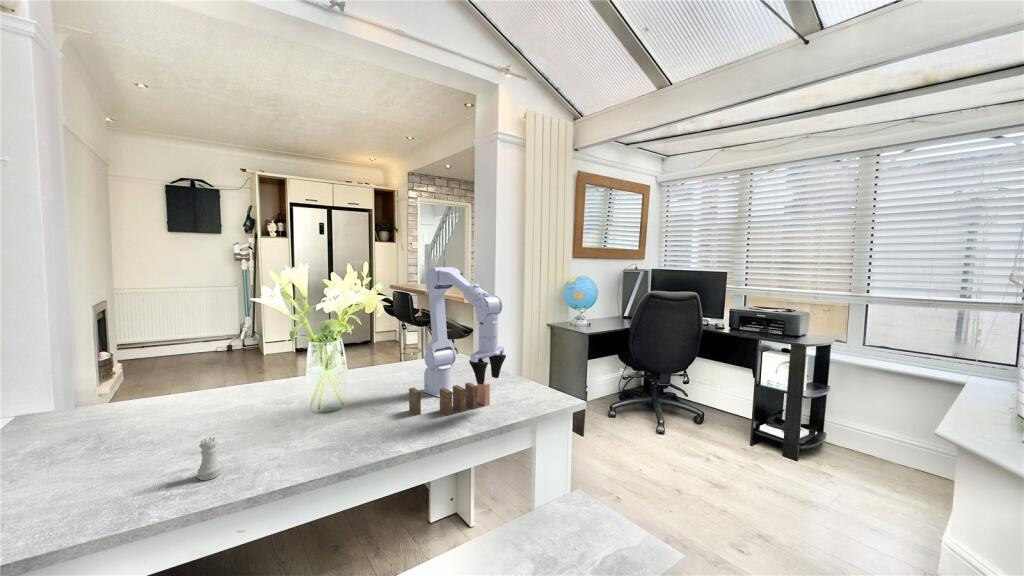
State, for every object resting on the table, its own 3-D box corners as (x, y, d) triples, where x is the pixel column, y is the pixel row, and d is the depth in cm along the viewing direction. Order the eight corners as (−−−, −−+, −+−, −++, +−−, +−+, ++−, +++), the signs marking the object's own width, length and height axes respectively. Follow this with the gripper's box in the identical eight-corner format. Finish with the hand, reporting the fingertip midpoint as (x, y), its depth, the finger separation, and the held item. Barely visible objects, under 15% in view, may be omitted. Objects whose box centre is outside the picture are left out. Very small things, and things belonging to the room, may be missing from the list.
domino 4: (473, 409, 127) (473, 387, 127) (465, 404, 131) (465, 383, 131) (477, 408, 128) (477, 386, 128) (469, 403, 132) (469, 382, 132)
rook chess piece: (205, 470, 90) (204, 435, 89) (227, 469, 90) (225, 434, 89) (191, 481, 85) (189, 444, 85) (214, 480, 86) (212, 444, 85)
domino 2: (447, 415, 122) (447, 392, 122) (439, 410, 126) (439, 388, 126) (452, 414, 123) (452, 391, 123) (444, 409, 127) (444, 387, 127)
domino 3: (460, 412, 125) (460, 390, 124) (452, 407, 129) (452, 385, 128) (465, 411, 126) (465, 389, 125) (457, 406, 130) (457, 384, 129)
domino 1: (415, 415, 122) (415, 392, 121) (409, 410, 126) (409, 388, 125) (420, 414, 123) (420, 391, 122) (414, 409, 127) (413, 387, 126)
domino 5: (485, 406, 130) (485, 384, 130) (477, 401, 134) (477, 380, 134) (489, 405, 131) (489, 383, 131) (481, 400, 135) (481, 380, 135)
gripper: (484, 342, 115) (484, 389, 116) (512, 334, 127) (511, 377, 128) (465, 339, 118) (464, 384, 119) (493, 331, 131) (493, 373, 132)
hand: (487, 380), depth 124 cm, fingers open, 7 cm apart
